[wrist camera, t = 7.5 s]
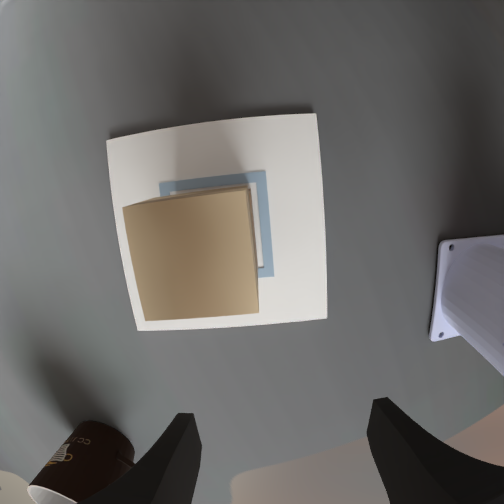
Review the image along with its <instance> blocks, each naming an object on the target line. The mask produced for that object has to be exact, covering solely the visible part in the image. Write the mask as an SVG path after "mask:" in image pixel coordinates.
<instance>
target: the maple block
mask: <svg viewBox="0 0 504 504" xmlns="http://www.w3.org/2000/svg"><path fill="white" fill-rule="evenodd" d="M122 210H123V217H124V223H125V229H126V234H127V240H128V245H129V251H130V256H131V261H132V266H133V271H134V275H135V280H136V285H137V289H138V293H139V298H140V302H141V306H142V310H143V314H144V318H145V321H159V320H176V319H192V318H206V317H219V316H231V315H243V314H254V313H259V290H258V272H257V263H256V254H255V245H254V236H253V227H252V218H251V209H250V200H249V191H248V185H245V186H236V187H228V188H220V189H212V190H204V191H196V192H189V193H182V194H175V195H168V196H162V197H155V198H151V199H148V200H145V201H141V202H138V203H135V204H132V205H128V206H125V207H122Z"/></svg>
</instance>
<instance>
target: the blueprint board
mask: <svg viewBox="0 0 504 504" xmlns="http://www.w3.org/2000/svg"><path fill="white" fill-rule="evenodd" d="M106 142H107V154H108V165H109V175H110V184H111V192H112V200H113V207H114V214H115V221H116V228H117V234H118V240H119V246H120V251H121V257H122V262H123V267H124V272H125V277H126V282H127V287H128V291H129V296H130V300H131V305H132V309H133V313H134V317H135V321H136V325H137V329H138V331H152V330H183V329H205V328H223V327H238V326H252V325H264V324H276V323H286V322H297V321H306V320H315V319H324V318H327V270H326V239H325V218H324V200H323V185H322V171H321V159H320V148H319V137H318V127H317V117H316V113H313V114H289V115H272V116H259V117H247V118H237V119H228V120H219V121H211V122H203V123H196V124H189V125H183V126H176V127H170V128H164V129H159V130H153V131H148V132H143V133H138V134H133V135H128V136H123V137H119V138H114V139H110V140H106ZM245 185H248V189H251V196H252V207H253V217H254V228H255V239H256V250H257V261H258V290H259V313H254V314H243V315H231V316H219V317H206V318H192V319H176V320H159V321H145V318H144V314H143V310H142V306H141V302H140V298H139V293H138V289H137V285H136V280H135V275H134V271H133V266H132V261H131V256H130V251H129V245H128V240H127V234H126V229H125V223H124V217H123V210H122V207H125V206H128V205H132V204H135V203H138V202H141V201H145V200H148V199H151V198H155V197H162V196H168V195H175V194H182V193H189V192H196V191H204V190H212V189H220V188H228V187H236V186H245Z"/></svg>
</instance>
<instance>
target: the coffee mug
mask: <svg viewBox="0 0 504 504" xmlns="http://www.w3.org/2000/svg"><path fill="white" fill-rule="evenodd" d="M134 454H135V451H134V448H133V446H132V444H131V443H130V441H129V440H128V439H127V438H126V437H125V436H124V435H123V434H121V433H120V432H119V431H117V430H116V429H114V428H112V427H110V426H108V425H106V424H103V423H100V422H96V421H84V422H82V423H80V425H79V426H78V427H77V428H76V429H75V430H74V432H73V433H72V434H71V435H70V436H69V438H68V439H67V440H66V441H65V442H64V444H63V445H62V446H61V447H60V448H59V450H58V451H57V452H56V453H55V454H54V456H53V457H52V458H51V459H50V460H49V462H48V463H47V464H46V465H45V466H44V468H43V469H42V470H41V471H40V472H39V474H38V475H37V476H36V477H35V479H34V480H33V481H32V482H31V483H30V485H29V486H28V487H27V492H28V494H29V495H30V497H31V498H32V500H33V501H34V502H35V503H36V504H76V503H78V502H81V501H83V500H85V499H87V498H89V497H91V496H92V495H94V494H96V493H98V492H99V491H101V490H103V489H104V488H106V487H107V486H109V485H110V484H112V483H113V482H115V481H116V480H117V479H119V478H120V477H121V476H123V475H124V474H125V473H126V472H127V471H128V470H130V469H131V468H132V467H133V466H134V465H135V463H133V459H134Z"/></svg>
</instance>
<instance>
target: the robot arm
mask: <svg viewBox="0 0 504 504" xmlns="http://www.w3.org/2000/svg"><path fill="white" fill-rule="evenodd" d="M450 245H452V247H451V249H450V250H449V246H450ZM440 333H441V334H440ZM439 334H440V335H439ZM459 335H461V336H462V337H463V338H464V339H466V340H467V341H468V342H469V343H470V344H471V345H472V346H473V347H474V348H475V349H476V350H477V351H478V352H479V353H480V354H481V355H482V356H484V357H485V358H486V359H487V360H488V361H489V362H490V363H491V364H492V365H493V366H494V367H495V368H496V369H497V370H498V371H499V372H500V373H501V374H502V375H503V376H504V234H503V235H493V236H483V237H472V238H462V239H451V240H443V241H442V242H440V244H439V248H438V263H437V276H436V287H435V296H434V304H433V312H432V319H431V326H430V332H429V338H430V339H431V341H439V340H443V339H447V338H451V337H455V336H459ZM367 437H368V441H369V445H370V449H371V452H372V456H373V458H374V461H375V463H376V466H377V468H378V471H379V473H380V476H381V478H382V481H383V484H384V486H385V489H386V491H387V494H388V497H389V501H390V504H504V467H502V466H497V465H494V464H490V463H487V462H484V461H481V460H478V459H475V458H473V457H470V456H468V455H465V454H464V453H461V452H459V451H457V450H455V449H454V448H452V447H450V446H448V445H447V444H445V443H443V442H442V441H440V440H438V439H437V438H436V437H434V436H433V435H431V434H430V433H428V432H427V431H426V430H425V429H423V428H422V427H421V426H420V425H418V424H417V423H416V422H415V421H413V420H412V419H411V418H410V417H409V416H408V415H407V414H405V413H404V412H403V411H402V410H401V409H400V408H399V407H398V406H397V405H395V404H394V403H393V402H392V401H391V400H390V399H389V398H388V397H385V398H380V399H374V400H373V404H372V409H371V414H370V419H369V424H368V429H367ZM201 449H202V444H201V441H200V437H199V433H198V429H197V426H196V422H195V418H194V414H193V413H178V414H177V415H176V416H175V418H174V419H173V421H172V422H171V423H170V425H169V426H168V427H167V429H166V430H165V431H164V433H163V434H162V435H161V437H160V438H159V439H158V440H157V441H156V443H155V444H154V445H153V446H152V447H151V448H150V450H149V451H148V452H147V453H146V454H145V455H144V456H143V457H142V458H141V459H140V460H139V461H138V462H137V463H136V464H135V465H134V466H133V467H132V468H131V469H130V470H128V471H127V472H126V473H125V474H124V475H123V476H121V477H120V478H119V479H117V480H116V481H115V482H113V483H112V484H110V485H109V486H107V487H106V488H104V489H103V490H101V491H99V492H98V493H96V494H94V495H92V496H91V497H89V498H87V499H85V500H83V501H81V502H78V503H76V504H191V502H192V498H193V494H194V489H195V485H196V481H197V477H198V472H199V468H200V460H201Z"/></svg>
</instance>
